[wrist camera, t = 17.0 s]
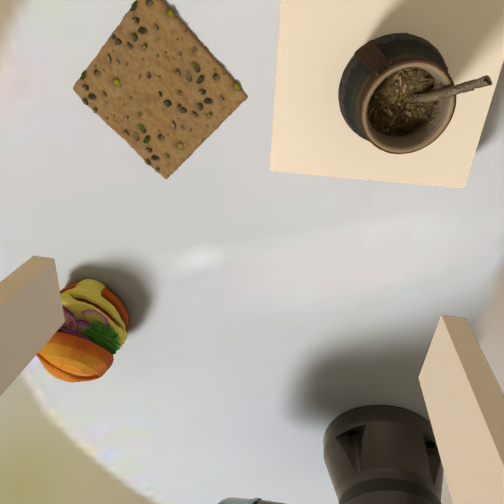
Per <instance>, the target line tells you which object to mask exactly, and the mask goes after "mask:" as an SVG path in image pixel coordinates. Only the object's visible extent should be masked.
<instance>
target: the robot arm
mask: <svg viewBox="0 0 504 504" xmlns="http://www.w3.org/2000/svg"><path fill="white" fill-rule="evenodd" d="M64 322H65V318H64V312H63V306H62V300H61V295H60V289H59V283H58V278H57V272H56V266H55V260H54V259H53V258H46V257H39V256H33V257H31V258H30V259H29V260H28V261H26V262H25V263H24V264H23V265H21V266H20V267H19V268H17V269H16V270H15V271H14V272H12V273H11V274H10V275H9V276H7V277H6V278H5V279H4V280H2V281H1V282H0V396H1V395H2V394H3V392H4V391H5V390H6V389H7V388H8V386H10V384H11V383H12V382H13V381H14V380H15V379H16V377H17V376H18V375H19V374H20V373H21V372H22V371H23V369H24V368H25V367H26V366H27V365H28V364H29V363H30V361H31V360H32V359H33V358H34V357H35V356H36V354H37V353H38V352H39V351H40V350H41V349H42V348H43V346H44V345H45V344H46V343H47V342H48V341H49V340H50V338H51V337H52V336H53V335H54V334H55V333H56V331H57V330H58V329H59V328H60V327H61V326H62V325H63V323H64ZM418 378H419V382H420V385H421V389H422V393H423V396H424V400H425V404H426V407H427V411H428V415H429V418H430V422H431V424H430V423H429V422H428V421H427V420H426V419H424V418H423V417H421V416H419V415H417V414H415V413H413V412H411V411H408V410H405V409H401V408H397V407H390V406H369V407H362V408H358V409H354V410H351V411H349V412H347V413H345V414H343V415H341V416H339V417H338V418H337V419H335V420H334V421H333V422H332V423H331V424H330V425H329V427H328V428H327V430H326V432H325V435H324V460H325V464H326V466H327V469H328V472H329V475H330V478H331V480H332V483H333V486H334V489H335V492H336V494H337V497H338V500H339V504H441V492H442V482H443V472H445V476H446V480H447V484H448V487H449V491H450V495H451V498H452V502H453V504H504V395H503V392H502V391H501V388H500V387H499V385H498V382H497V380H496V378H495V376H494V374H493V372H492V370H491V368H490V367H489V364H488V362H487V360H486V358H485V356H484V354H483V352H482V350H481V348H480V346H479V344H478V342H477V340H476V338H475V336H474V334H473V332H472V330H471V328H470V325H469V323H468V321H467V319H466V318H459V317H453V316H446V315H441V317H440V320H439V323H438V325H437V328H436V331H435V334H434V336H433V339H432V342H431V345H430V347H429V350H428V353H427V356H426V358H425V361H424V364H423V367H422V369H421V372H420V375H419V377H418ZM218 504H284V503H278V502H271V501H265V500H262V499H260V498H254V499H242V498H226V499H224V500H222V501H220V502H219V503H218Z"/></svg>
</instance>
